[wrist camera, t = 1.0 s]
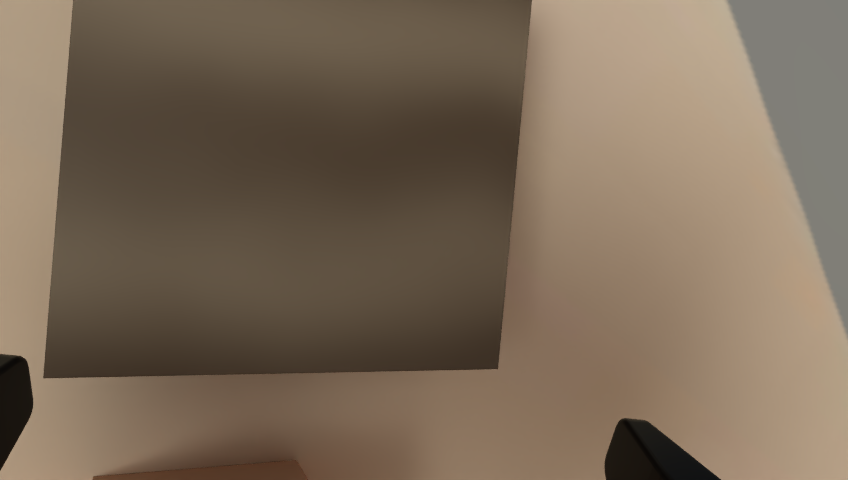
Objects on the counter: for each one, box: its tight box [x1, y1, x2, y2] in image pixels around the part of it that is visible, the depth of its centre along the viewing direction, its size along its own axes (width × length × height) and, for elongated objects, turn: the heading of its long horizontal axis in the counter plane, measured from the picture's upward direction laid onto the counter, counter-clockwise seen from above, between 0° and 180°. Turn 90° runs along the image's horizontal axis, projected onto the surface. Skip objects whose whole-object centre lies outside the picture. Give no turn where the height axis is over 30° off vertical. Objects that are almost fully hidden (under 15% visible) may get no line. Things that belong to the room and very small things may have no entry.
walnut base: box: [43, 0, 532, 378], centre depth 18 cm, size 12×12×4 cm
